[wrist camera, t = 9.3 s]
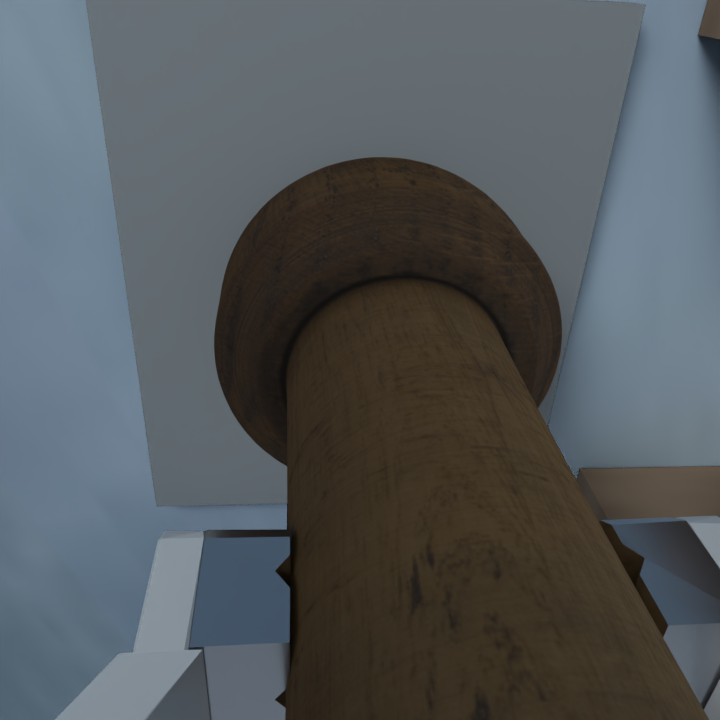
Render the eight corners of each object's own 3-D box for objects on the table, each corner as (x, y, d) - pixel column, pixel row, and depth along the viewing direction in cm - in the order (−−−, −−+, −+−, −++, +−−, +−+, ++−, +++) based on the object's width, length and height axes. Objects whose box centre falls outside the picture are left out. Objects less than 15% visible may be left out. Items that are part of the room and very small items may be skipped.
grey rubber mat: (160, 490, 18) (156, 506, 18) (91, -25, 12) (82, -24, 12) (524, 483, 19) (530, 498, 19) (631, 2, 13) (645, 5, 13)
